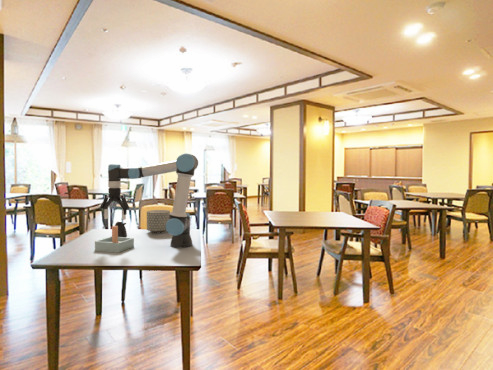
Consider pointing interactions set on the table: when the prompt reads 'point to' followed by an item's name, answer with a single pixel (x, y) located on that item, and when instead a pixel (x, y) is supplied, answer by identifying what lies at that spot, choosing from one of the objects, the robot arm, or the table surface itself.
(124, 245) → the box
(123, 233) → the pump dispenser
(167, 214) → the planter
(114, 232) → the peg
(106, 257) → the table surface
